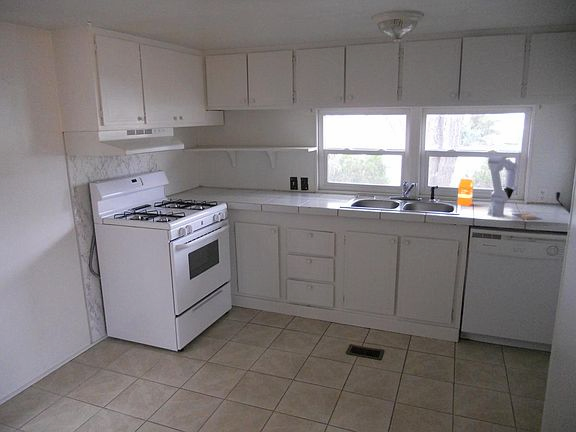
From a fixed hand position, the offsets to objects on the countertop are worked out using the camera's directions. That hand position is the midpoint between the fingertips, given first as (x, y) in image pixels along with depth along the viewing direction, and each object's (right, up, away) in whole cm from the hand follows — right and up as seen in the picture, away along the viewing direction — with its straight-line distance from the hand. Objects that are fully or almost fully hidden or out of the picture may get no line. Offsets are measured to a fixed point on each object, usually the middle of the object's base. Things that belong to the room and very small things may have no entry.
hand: (508, 198), depth 315 cm
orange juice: (-19, -4, +32) cm, 37 cm away
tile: (+4, -13, -15) cm, 20 cm away
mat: (+6, -14, -13) cm, 20 cm away
